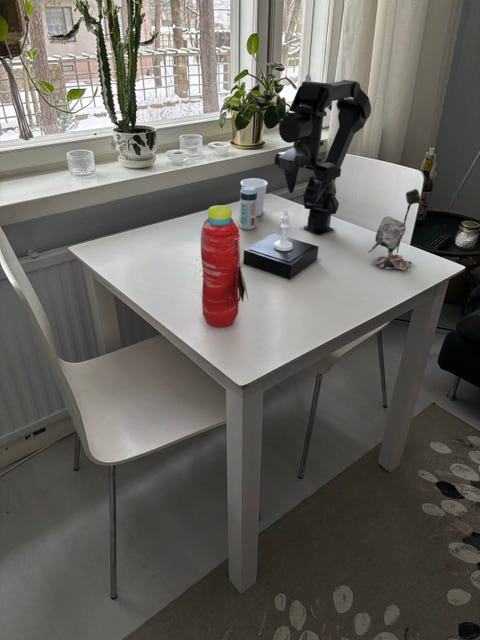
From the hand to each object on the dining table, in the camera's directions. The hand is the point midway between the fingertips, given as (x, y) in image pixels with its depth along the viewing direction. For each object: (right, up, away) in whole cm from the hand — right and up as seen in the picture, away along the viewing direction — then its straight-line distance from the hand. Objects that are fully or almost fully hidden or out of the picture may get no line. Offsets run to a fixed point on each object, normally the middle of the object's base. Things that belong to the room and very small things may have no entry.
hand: (303, 197), depth 132 cm
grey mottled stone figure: (+22, -19, -4) cm, 29 cm away
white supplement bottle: (-15, -6, +15) cm, 22 cm away
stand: (-6, -18, -4) cm, 20 cm away
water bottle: (-20, -34, -29) cm, 49 cm away
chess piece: (-6, -15, -6) cm, 17 cm away
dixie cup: (-13, +1, +25) cm, 28 cm away
